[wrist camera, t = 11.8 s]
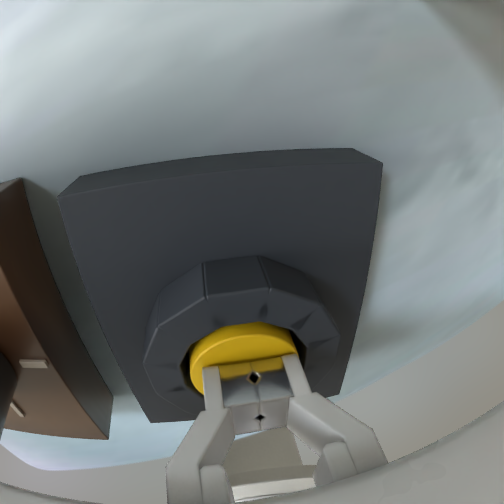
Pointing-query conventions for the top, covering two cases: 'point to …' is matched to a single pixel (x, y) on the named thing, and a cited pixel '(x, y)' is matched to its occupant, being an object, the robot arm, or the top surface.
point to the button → (238, 347)
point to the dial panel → (43, 337)
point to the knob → (6, 389)
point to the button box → (224, 260)
